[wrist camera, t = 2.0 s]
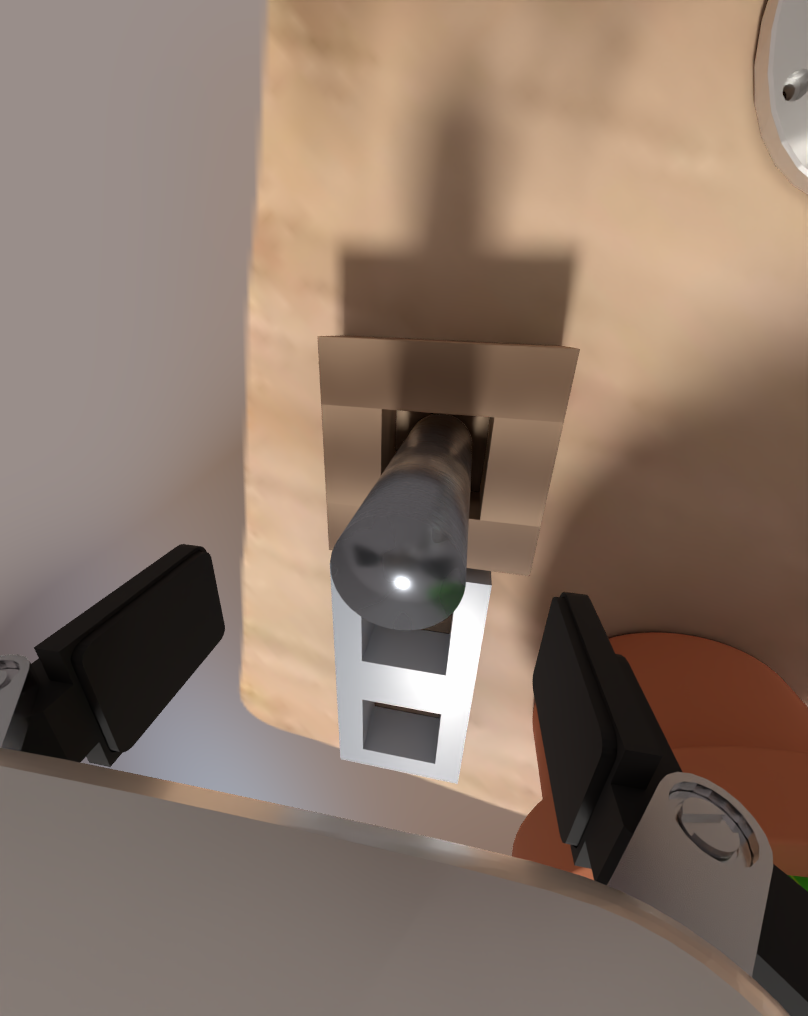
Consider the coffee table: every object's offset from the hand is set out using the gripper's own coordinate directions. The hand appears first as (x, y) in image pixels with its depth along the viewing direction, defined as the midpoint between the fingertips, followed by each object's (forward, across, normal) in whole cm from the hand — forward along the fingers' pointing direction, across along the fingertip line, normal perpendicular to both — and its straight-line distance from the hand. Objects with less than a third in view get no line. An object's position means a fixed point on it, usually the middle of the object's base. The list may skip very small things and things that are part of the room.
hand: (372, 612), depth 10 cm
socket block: (+15, -1, -1) cm, 15 cm away
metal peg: (+15, -1, -1) cm, 15 cm away
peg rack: (+15, 0, +16) cm, 22 cm away
